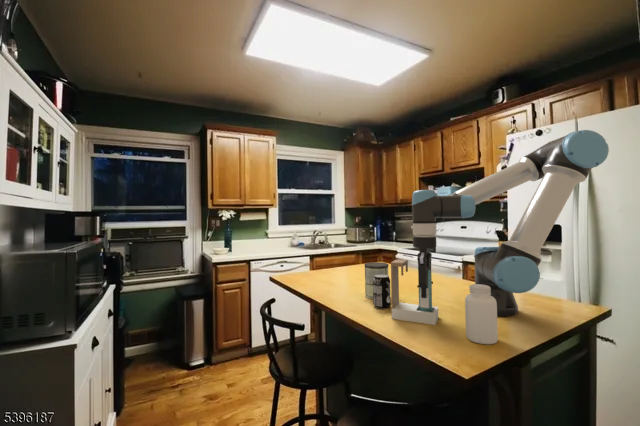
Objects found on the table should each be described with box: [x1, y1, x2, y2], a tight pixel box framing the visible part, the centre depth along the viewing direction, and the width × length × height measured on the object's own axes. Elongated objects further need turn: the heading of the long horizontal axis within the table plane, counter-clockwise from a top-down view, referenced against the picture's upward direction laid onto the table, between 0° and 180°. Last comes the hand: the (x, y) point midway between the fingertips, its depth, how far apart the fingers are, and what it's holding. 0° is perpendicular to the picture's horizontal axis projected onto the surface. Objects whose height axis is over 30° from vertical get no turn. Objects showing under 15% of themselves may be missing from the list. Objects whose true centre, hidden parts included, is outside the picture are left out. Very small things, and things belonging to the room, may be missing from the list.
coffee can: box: [364, 261, 389, 300], centre depth 132 cm, size 10×10×14 cm
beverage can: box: [372, 274, 392, 310], centre depth 117 cm, size 7×7×12 cm
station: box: [390, 258, 439, 326], centre depth 104 cm, size 14×8×19 cm, turn 62°
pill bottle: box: [464, 283, 499, 345], centre depth 86 cm, size 8×8×15 cm
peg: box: [417, 269, 433, 312], centre depth 102 cm, size 4×4×16 cm
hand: (425, 305), depth 102 cm, fingers closed on peg, 4 cm apart
